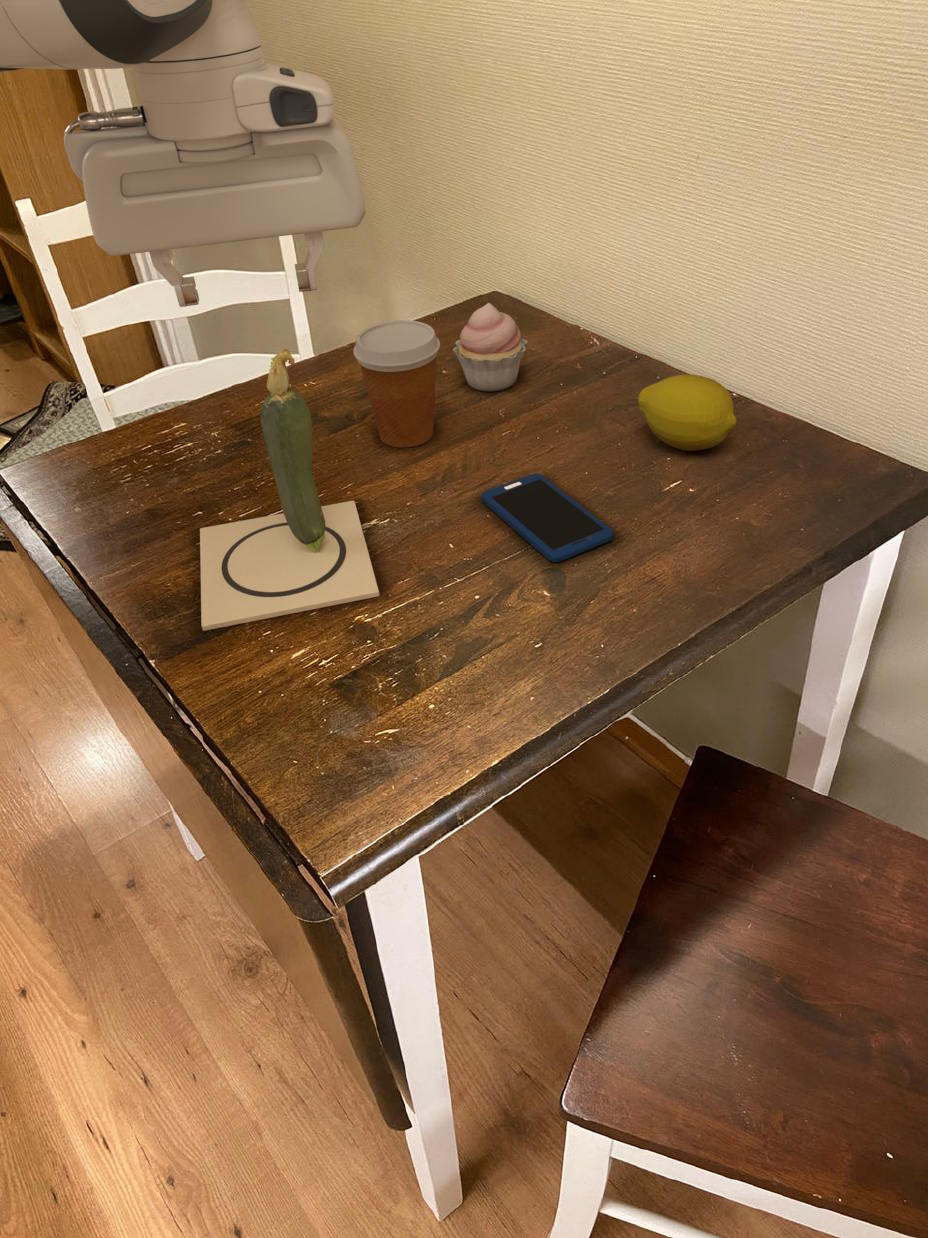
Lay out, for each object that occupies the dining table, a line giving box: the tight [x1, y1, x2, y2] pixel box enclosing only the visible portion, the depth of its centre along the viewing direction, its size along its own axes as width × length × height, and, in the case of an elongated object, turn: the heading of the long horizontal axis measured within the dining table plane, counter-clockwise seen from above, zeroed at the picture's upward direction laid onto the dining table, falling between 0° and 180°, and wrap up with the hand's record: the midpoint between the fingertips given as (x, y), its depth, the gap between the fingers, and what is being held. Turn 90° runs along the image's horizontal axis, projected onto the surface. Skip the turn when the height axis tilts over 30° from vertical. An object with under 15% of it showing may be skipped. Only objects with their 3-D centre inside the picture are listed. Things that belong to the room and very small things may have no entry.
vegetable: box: [260, 348, 326, 552], centre depth 80 cm, size 4×4×20 cm
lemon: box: [637, 374, 738, 452], centre depth 95 cm, size 11×8×8 cm
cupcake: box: [452, 302, 529, 392], centre depth 109 cm, size 9×9×10 cm
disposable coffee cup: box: [352, 319, 441, 448], centre depth 100 cm, size 10×10×12 cm
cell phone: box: [480, 473, 615, 563], centre depth 88 cm, size 7×14×1 cm, turn 30°
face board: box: [199, 500, 380, 632], centre depth 85 cm, size 16×16×1 cm
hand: (249, 296), depth 71 cm, fingers open, 8 cm apart
